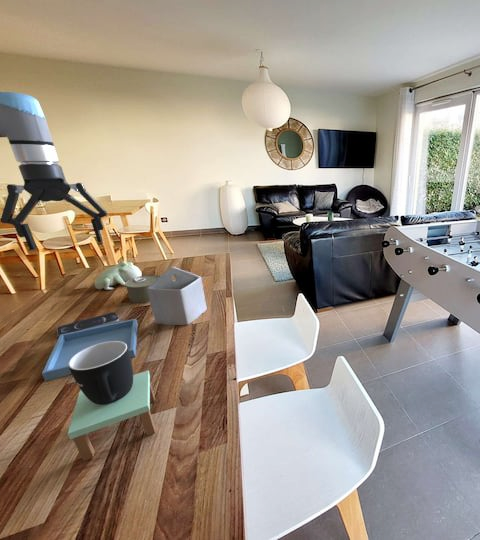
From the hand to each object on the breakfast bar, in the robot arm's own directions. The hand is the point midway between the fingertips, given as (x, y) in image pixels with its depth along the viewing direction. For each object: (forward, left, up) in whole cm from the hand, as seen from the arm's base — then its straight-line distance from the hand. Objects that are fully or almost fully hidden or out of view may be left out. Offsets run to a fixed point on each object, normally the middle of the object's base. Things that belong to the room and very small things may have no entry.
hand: (68, 245), depth 79 cm
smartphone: (-4, +10, -31) cm, 33 cm away
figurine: (+2, +45, -31) cm, 55 cm away
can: (+12, +26, -31) cm, 42 cm away
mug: (+8, -43, -23) cm, 49 cm away
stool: (+8, -43, -31) cm, 53 cm away
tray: (0, -7, -31) cm, 31 cm away
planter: (+23, -2, -31) cm, 39 cm away
